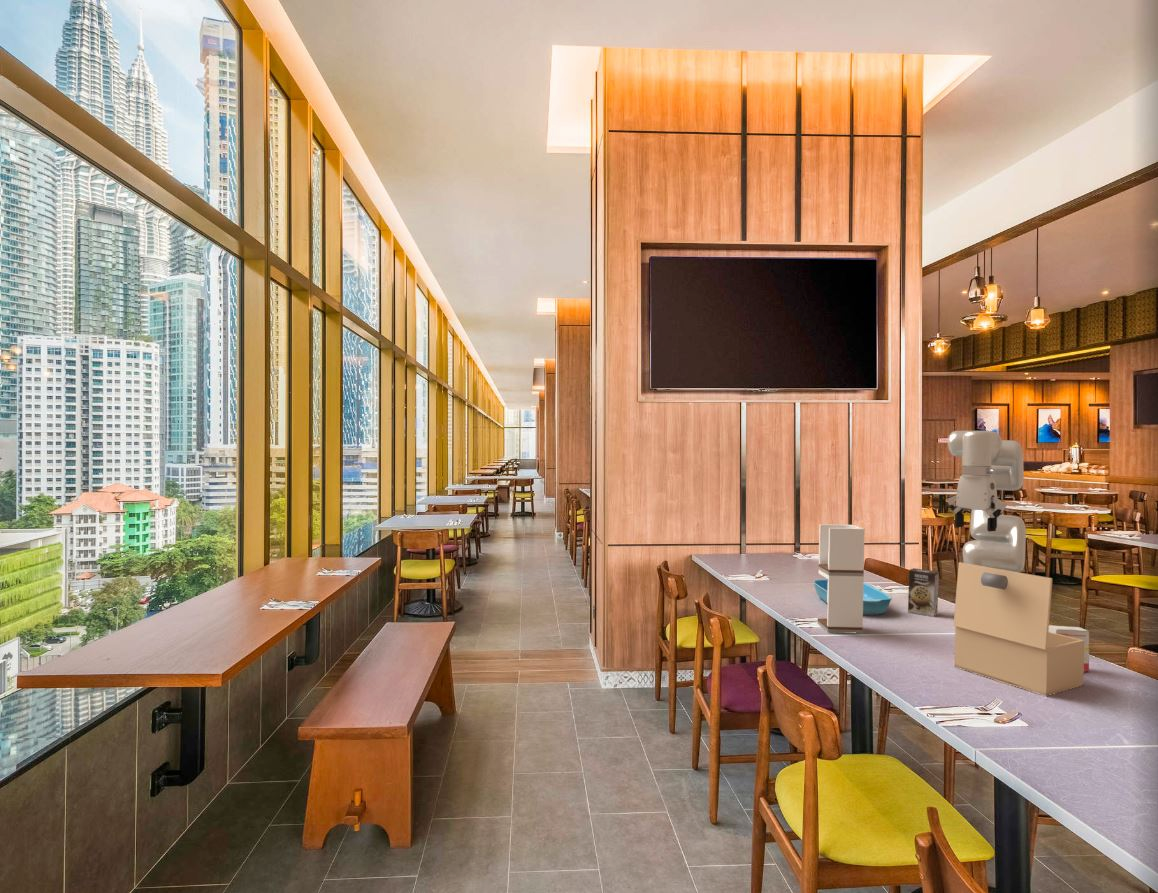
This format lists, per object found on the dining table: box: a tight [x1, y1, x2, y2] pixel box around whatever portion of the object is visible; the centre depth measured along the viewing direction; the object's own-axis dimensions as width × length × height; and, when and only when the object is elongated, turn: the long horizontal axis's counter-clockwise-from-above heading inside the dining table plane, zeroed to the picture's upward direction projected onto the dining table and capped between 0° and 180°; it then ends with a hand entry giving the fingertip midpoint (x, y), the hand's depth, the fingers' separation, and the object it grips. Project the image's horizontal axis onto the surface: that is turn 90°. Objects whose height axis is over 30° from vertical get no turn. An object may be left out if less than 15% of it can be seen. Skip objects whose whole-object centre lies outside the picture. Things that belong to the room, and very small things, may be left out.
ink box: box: [1048, 624, 1090, 673], centre depth 191 cm, size 9×5×12 cm, turn 80°
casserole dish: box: [812, 578, 892, 616], centre depth 262 cm, size 37×22×7 cm, turn 0°
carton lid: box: [953, 561, 1053, 650], centre depth 179 cm, size 18×24×6 cm
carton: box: [954, 626, 1085, 697], centre depth 184 cm, size 18×24×12 cm
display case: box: [817, 523, 866, 634], centre depth 228 cm, size 11×11×35 cm
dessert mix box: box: [907, 567, 940, 617], centre depth 251 cm, size 9×6×16 cm
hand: (975, 529), depth 201 cm, fingers open, 9 cm apart
